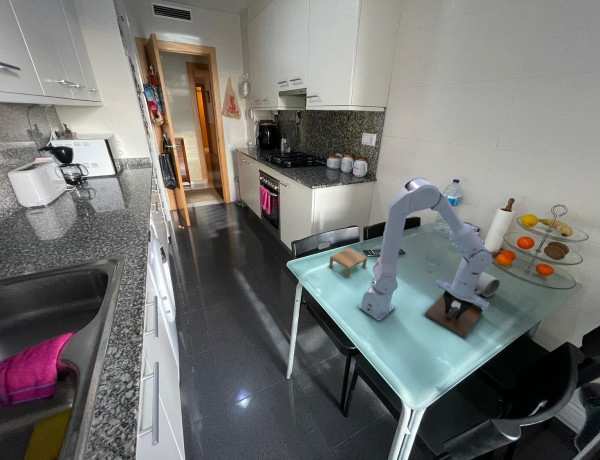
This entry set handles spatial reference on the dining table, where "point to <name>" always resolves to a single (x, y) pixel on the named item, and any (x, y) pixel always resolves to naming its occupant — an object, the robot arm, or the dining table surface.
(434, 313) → the lower shelf
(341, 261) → the upper shelf
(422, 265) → the dining table surface
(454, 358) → the dining table surface
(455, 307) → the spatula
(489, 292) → the ceramic mug
